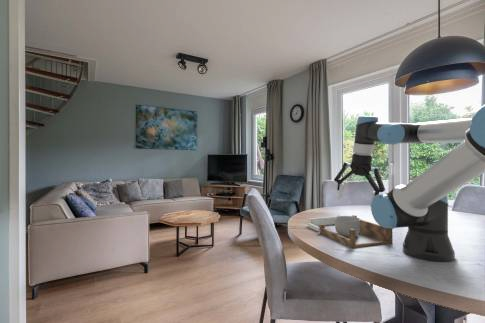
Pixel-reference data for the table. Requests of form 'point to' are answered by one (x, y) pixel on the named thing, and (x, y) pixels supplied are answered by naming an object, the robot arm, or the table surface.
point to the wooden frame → (366, 229)
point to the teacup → (347, 225)
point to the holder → (320, 222)
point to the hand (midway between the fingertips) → (355, 201)
